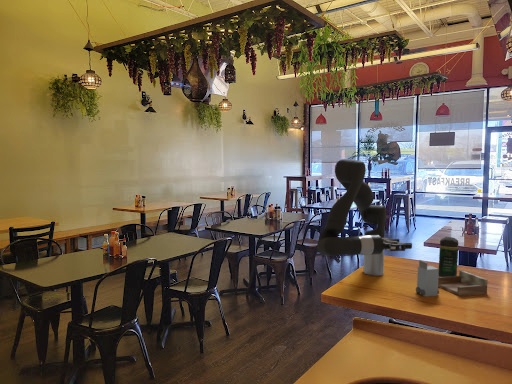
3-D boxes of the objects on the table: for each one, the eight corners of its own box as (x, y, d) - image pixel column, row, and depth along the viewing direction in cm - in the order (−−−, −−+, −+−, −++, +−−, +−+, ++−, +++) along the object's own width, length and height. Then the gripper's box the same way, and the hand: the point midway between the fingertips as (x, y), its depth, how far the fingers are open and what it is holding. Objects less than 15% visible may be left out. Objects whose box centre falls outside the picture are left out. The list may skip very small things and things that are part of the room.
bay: (435, 285, 172) (435, 271, 172) (461, 283, 175) (461, 270, 175) (459, 296, 158) (460, 281, 158) (486, 293, 161) (487, 279, 161)
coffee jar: (456, 280, 180) (458, 240, 179) (437, 277, 184) (439, 238, 182) (457, 275, 188) (459, 236, 187) (439, 272, 192) (440, 235, 191)
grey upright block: (415, 292, 163) (416, 259, 162) (430, 291, 164) (431, 258, 163) (423, 296, 157) (425, 263, 156) (439, 295, 159) (440, 262, 158)
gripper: (378, 238, 146) (416, 237, 149) (359, 232, 160) (395, 231, 163) (377, 258, 146) (415, 256, 150) (359, 250, 160) (394, 249, 164)
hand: (404, 243), depth 157 cm, fingers open, 8 cm apart
